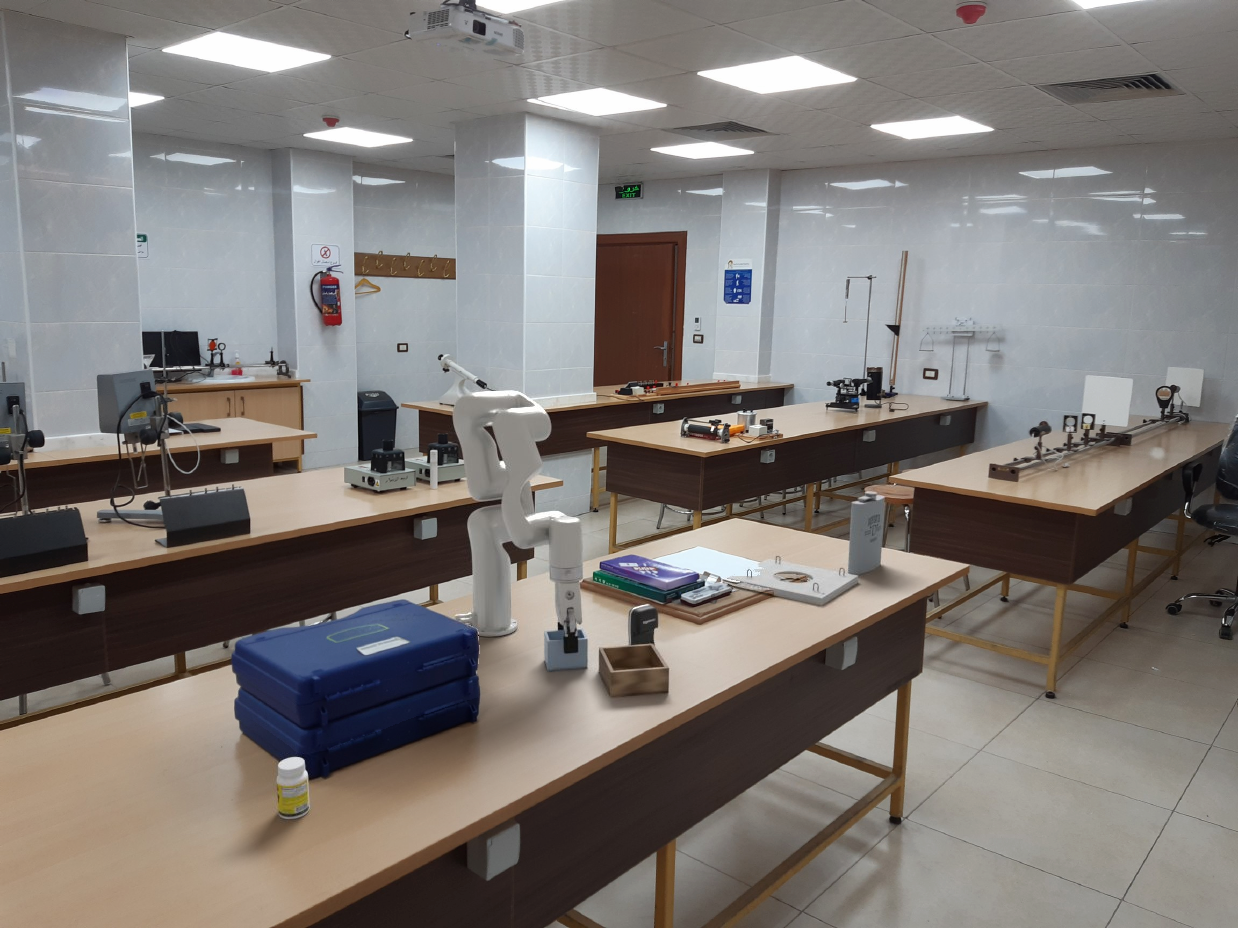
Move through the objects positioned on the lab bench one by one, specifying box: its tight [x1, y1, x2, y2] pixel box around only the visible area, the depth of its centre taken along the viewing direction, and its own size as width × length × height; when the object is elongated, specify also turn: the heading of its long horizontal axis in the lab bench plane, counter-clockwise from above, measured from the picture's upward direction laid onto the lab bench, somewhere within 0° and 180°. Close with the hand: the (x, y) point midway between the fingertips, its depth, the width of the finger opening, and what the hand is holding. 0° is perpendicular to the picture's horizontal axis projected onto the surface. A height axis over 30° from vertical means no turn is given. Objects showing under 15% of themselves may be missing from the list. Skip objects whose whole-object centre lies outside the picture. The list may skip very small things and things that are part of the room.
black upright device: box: [627, 603, 659, 647], centre depth 203 cm, size 7×4×11 cm, turn 128°
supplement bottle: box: [276, 756, 311, 820], centre depth 137 cm, size 5×5×8 cm
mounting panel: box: [726, 555, 859, 606], centre depth 258 cm, size 27×5×30 cm
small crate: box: [543, 628, 589, 672], centre depth 196 cm, size 9×6×7 cm
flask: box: [847, 490, 886, 576], centre depth 273 cm, size 17×5×25 cm, turn 138°
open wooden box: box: [598, 643, 670, 698], centre depth 188 cm, size 12×14×6 cm
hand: (567, 645), depth 196 cm, fingers open, 9 cm apart
